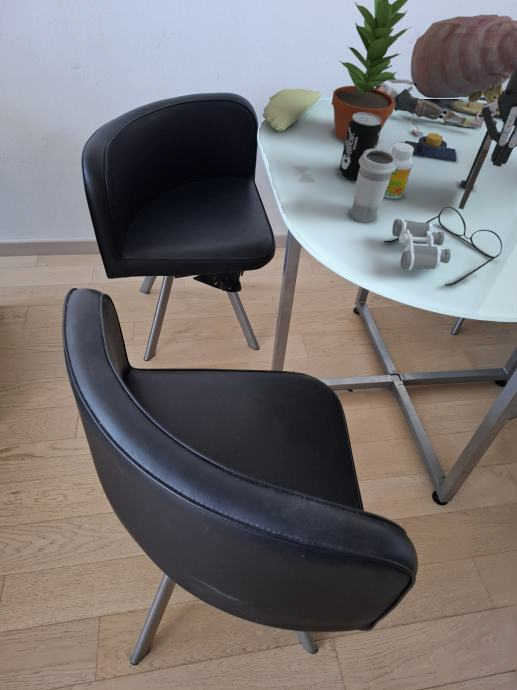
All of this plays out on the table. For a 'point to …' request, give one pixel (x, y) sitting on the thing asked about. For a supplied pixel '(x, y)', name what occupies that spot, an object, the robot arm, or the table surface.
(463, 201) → the door
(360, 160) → the cup
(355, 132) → the beverage can
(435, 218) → the glasses
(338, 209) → the table surface
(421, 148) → the doorbell
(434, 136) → the bell button
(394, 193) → the supplement bottle
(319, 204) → the table surface
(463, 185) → the upright peg on plate
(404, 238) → the binoculars
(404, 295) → the table surface
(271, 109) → the dumpling
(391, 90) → the toy
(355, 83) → the potted plant
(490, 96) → the sandal
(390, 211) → the table surface
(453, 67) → the sculpture
